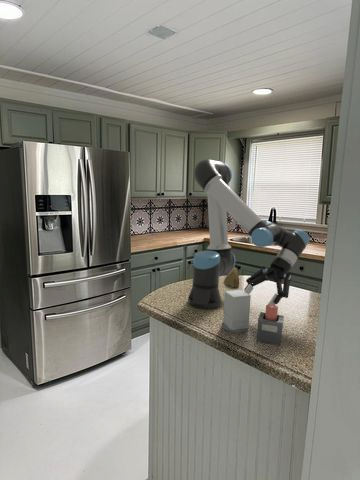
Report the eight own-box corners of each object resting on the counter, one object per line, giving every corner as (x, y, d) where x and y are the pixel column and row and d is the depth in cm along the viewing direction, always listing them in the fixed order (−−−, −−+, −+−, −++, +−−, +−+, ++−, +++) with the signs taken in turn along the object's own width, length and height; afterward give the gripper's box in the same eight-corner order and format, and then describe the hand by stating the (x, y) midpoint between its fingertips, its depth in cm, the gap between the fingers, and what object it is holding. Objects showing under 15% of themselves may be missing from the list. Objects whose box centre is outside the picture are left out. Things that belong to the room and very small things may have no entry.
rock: (244, 284, 169) (243, 277, 178) (235, 272, 167) (234, 265, 177) (227, 294, 172) (227, 286, 181) (218, 282, 170) (218, 275, 180)
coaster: (218, 330, 118) (218, 328, 118) (224, 320, 127) (225, 318, 127) (245, 335, 114) (246, 333, 114) (250, 325, 124) (250, 322, 123)
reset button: (263, 325, 110) (265, 307, 109) (265, 321, 114) (266, 303, 113) (275, 328, 109) (277, 309, 108) (276, 323, 113) (278, 305, 112)
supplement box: (249, 328, 118) (251, 295, 116) (231, 330, 116) (233, 297, 114) (239, 320, 125) (241, 289, 123) (222, 322, 123) (224, 290, 121)
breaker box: (256, 341, 110) (257, 319, 109) (259, 332, 117) (260, 312, 116) (280, 345, 108) (282, 323, 106) (281, 337, 114) (283, 315, 113)
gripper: (314, 275, 122) (284, 320, 116) (264, 261, 143) (237, 299, 137) (306, 262, 118) (276, 308, 113) (256, 251, 139) (228, 289, 133)
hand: (254, 303), depth 125 cm, fingers open, 13 cm apart
